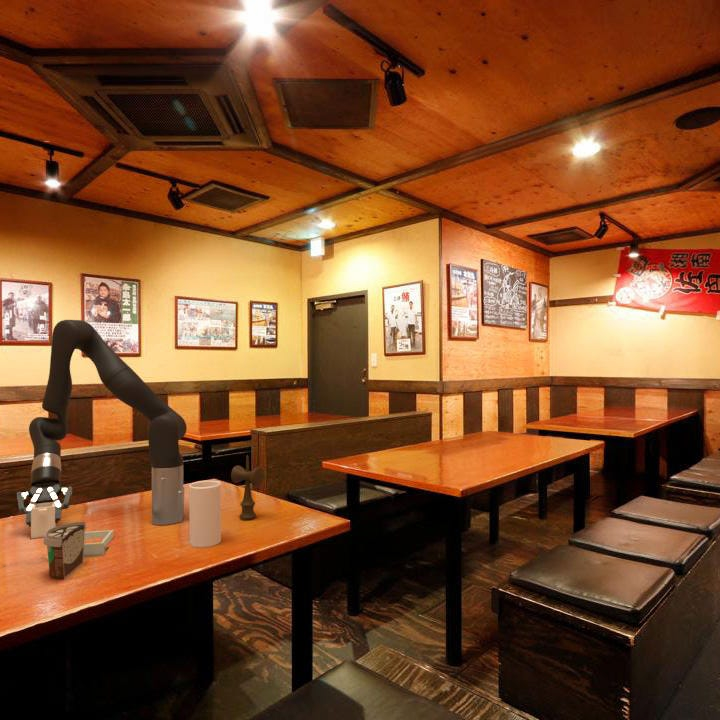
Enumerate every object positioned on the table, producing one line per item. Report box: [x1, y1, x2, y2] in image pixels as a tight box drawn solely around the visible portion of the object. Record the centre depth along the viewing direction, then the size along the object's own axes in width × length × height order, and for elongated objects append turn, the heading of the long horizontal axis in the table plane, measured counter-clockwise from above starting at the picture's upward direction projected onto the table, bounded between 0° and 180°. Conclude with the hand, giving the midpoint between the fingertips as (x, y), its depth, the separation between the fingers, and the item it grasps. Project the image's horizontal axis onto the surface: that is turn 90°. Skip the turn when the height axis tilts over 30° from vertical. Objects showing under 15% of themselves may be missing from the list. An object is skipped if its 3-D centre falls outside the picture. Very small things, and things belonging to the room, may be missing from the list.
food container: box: [43, 521, 87, 580], centre depth 119 cm, size 12×6×10 cm, turn 5°
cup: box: [189, 480, 222, 548], centre depth 138 cm, size 8×8×16 cm
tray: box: [83, 529, 115, 558], centre depth 133 cm, size 10×10×3 cm
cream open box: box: [30, 502, 57, 540], centre depth 141 cm, size 6×7×8 cm
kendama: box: [230, 454, 265, 521], centre depth 159 cm, size 6×10×20 cm, turn 65°
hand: (43, 523), depth 140 cm, fingers closed on cream open box, 5 cm apart
